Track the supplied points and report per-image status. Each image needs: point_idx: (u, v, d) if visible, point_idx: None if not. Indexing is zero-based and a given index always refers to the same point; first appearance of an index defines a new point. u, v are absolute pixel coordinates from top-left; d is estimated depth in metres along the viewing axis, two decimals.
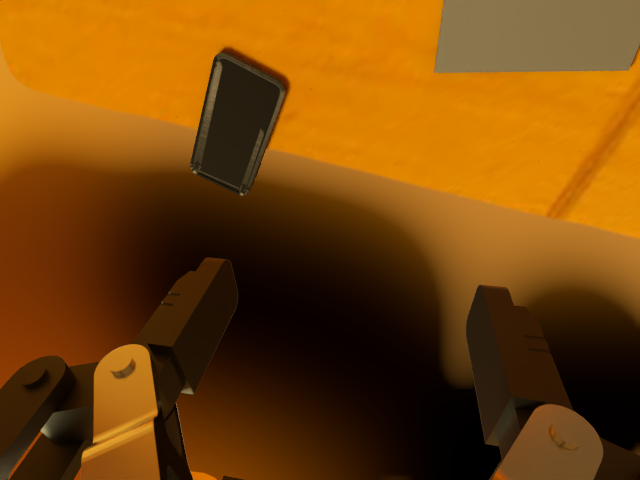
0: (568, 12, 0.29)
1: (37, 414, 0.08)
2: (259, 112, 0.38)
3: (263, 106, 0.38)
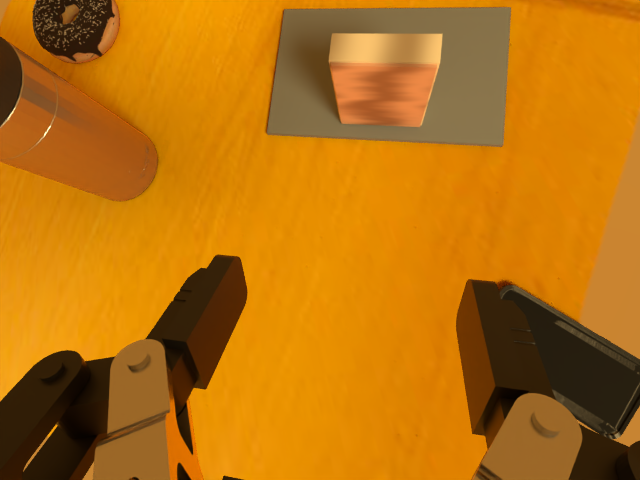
0: (465, 58, 0.39)
1: (53, 409, 0.08)
2: (534, 319, 0.35)
3: (527, 312, 0.35)
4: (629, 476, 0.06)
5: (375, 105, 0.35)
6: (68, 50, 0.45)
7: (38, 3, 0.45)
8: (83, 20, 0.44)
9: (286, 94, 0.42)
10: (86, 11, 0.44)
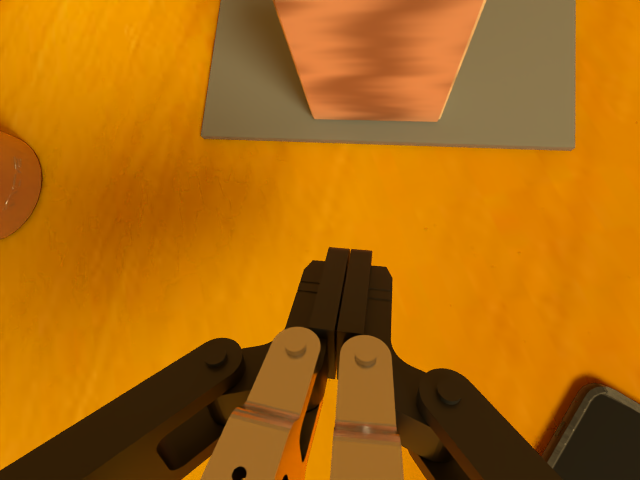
0: (506, 12, 0.25)
1: (201, 398, 0.08)
2: None
3: (634, 435, 0.20)
4: (427, 412, 0.07)
5: (364, 84, 0.21)
6: None
7: None
8: None
9: (230, 76, 0.27)
10: None
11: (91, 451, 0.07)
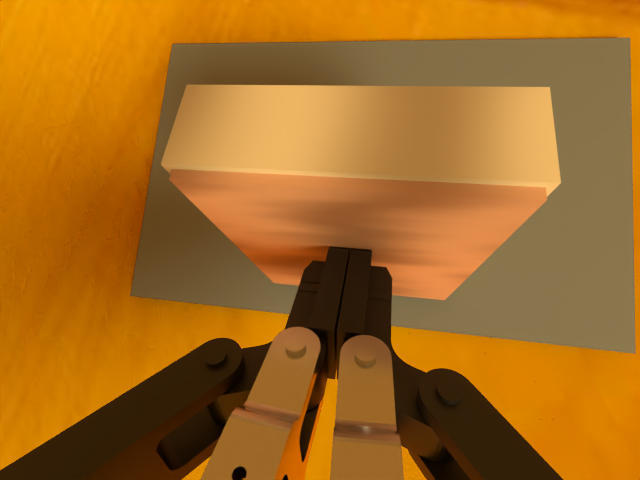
0: None
1: (200, 398, 0.08)
2: None
3: None
4: (427, 412, 0.07)
5: None
6: None
7: None
8: None
9: (170, 215, 0.21)
10: None
11: (91, 451, 0.07)
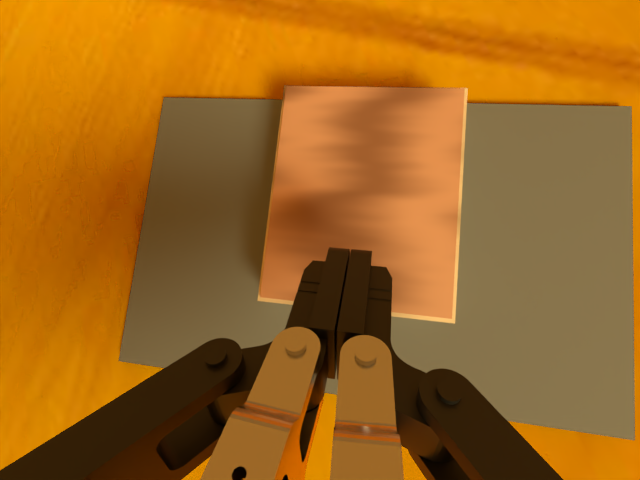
0: (534, 219, 0.18)
1: (200, 398, 0.08)
2: None
3: None
4: (427, 412, 0.07)
5: (347, 211, 0.17)
6: None
7: None
8: None
9: (160, 278, 0.20)
10: None
11: (91, 451, 0.07)
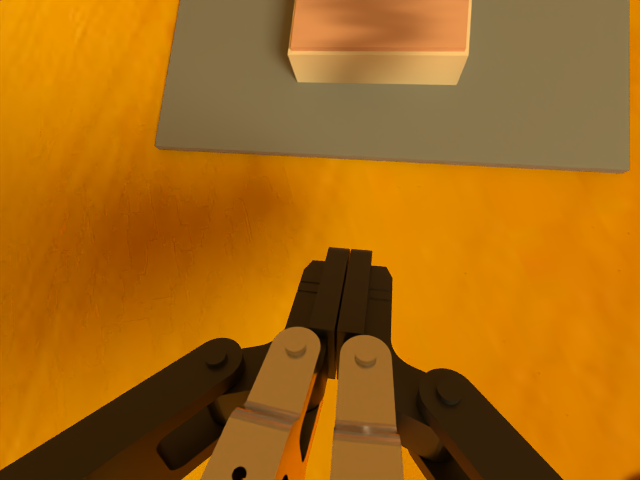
0: None
1: (200, 398, 0.08)
2: None
3: None
4: (427, 412, 0.07)
5: None
6: None
7: None
8: None
9: (192, 72, 0.22)
10: None
11: (91, 451, 0.07)
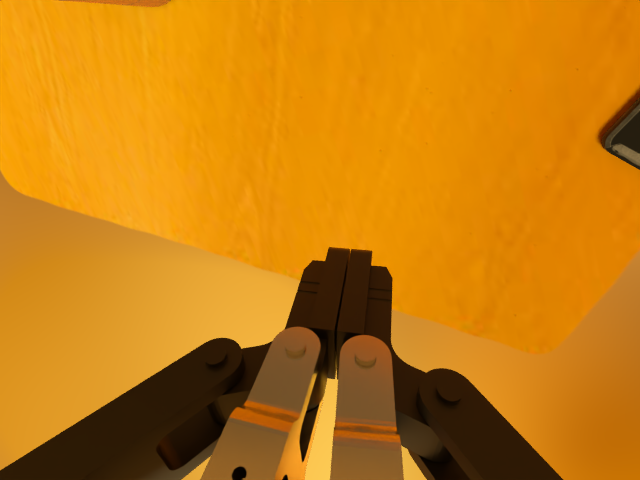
0: None
1: (200, 398, 0.08)
2: None
3: None
4: (427, 412, 0.07)
5: None
6: None
7: None
8: None
9: None
10: None
11: (91, 451, 0.07)
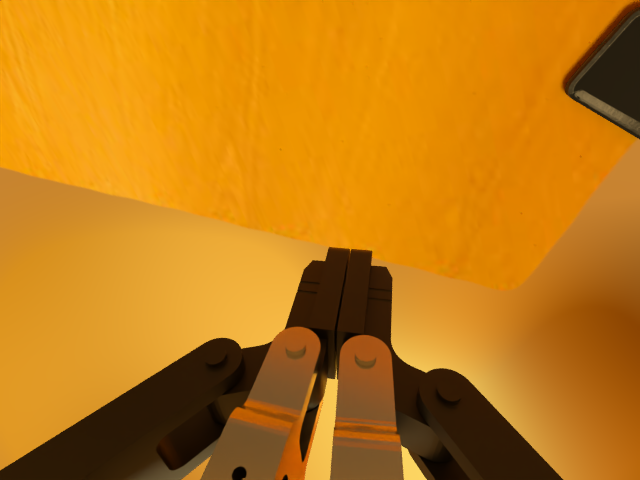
0: None
1: (201, 398, 0.08)
2: None
3: None
4: (427, 412, 0.07)
5: None
6: None
7: None
8: None
9: None
10: None
11: (91, 451, 0.07)
